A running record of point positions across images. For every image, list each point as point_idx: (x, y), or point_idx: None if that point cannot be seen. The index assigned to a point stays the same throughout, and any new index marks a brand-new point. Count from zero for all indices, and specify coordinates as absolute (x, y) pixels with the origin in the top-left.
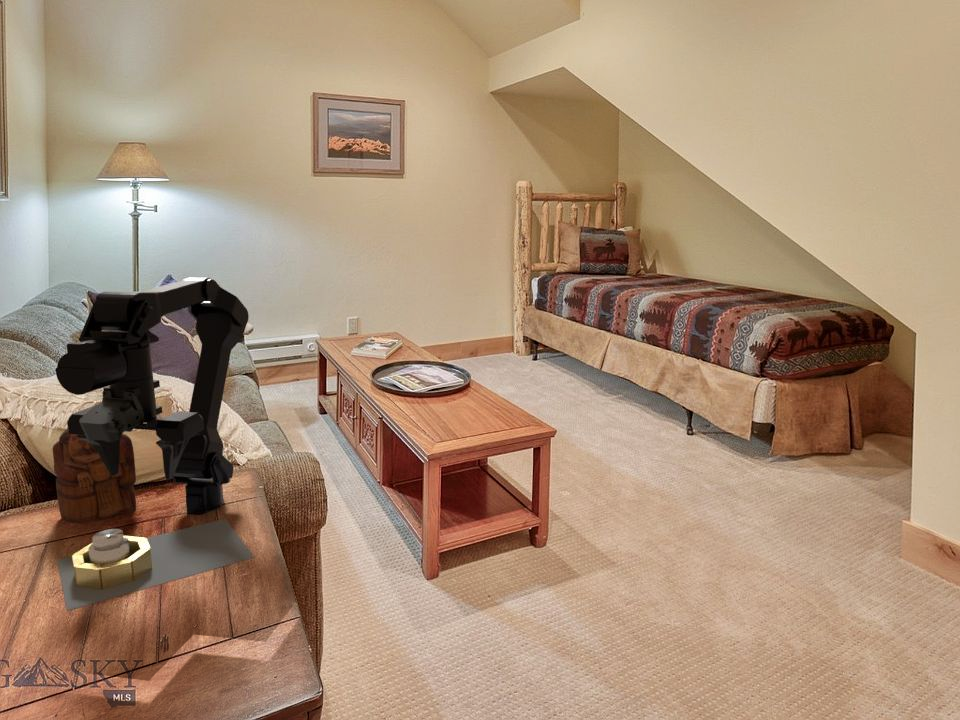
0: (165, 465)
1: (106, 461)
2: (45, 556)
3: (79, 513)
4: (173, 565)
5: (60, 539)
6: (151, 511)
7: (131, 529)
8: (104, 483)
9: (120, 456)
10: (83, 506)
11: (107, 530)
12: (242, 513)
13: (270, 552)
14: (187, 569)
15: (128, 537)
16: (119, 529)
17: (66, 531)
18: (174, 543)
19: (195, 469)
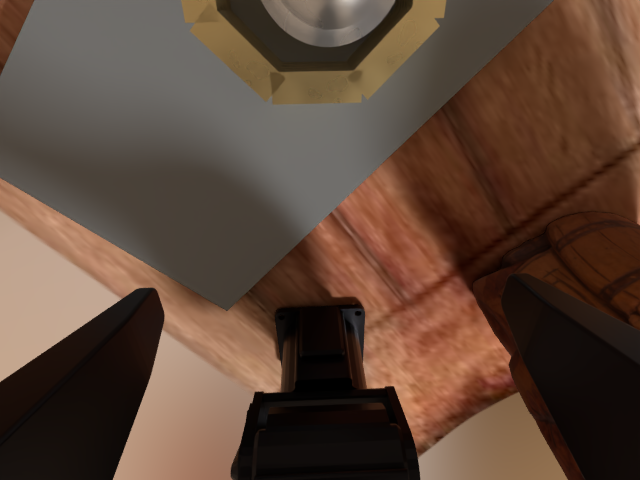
0: (69, 355)
1: (602, 329)
2: (613, 66)
3: (610, 238)
4: (148, 51)
5: (612, 163)
6: (451, 319)
7: (449, 244)
8: None
9: None
10: (611, 254)
11: (365, 1)
12: (241, 349)
13: (20, 218)
14: (82, 37)
15: (333, 92)
16: (318, 27)
17: (614, 203)
18: (253, 176)
19: (288, 430)
